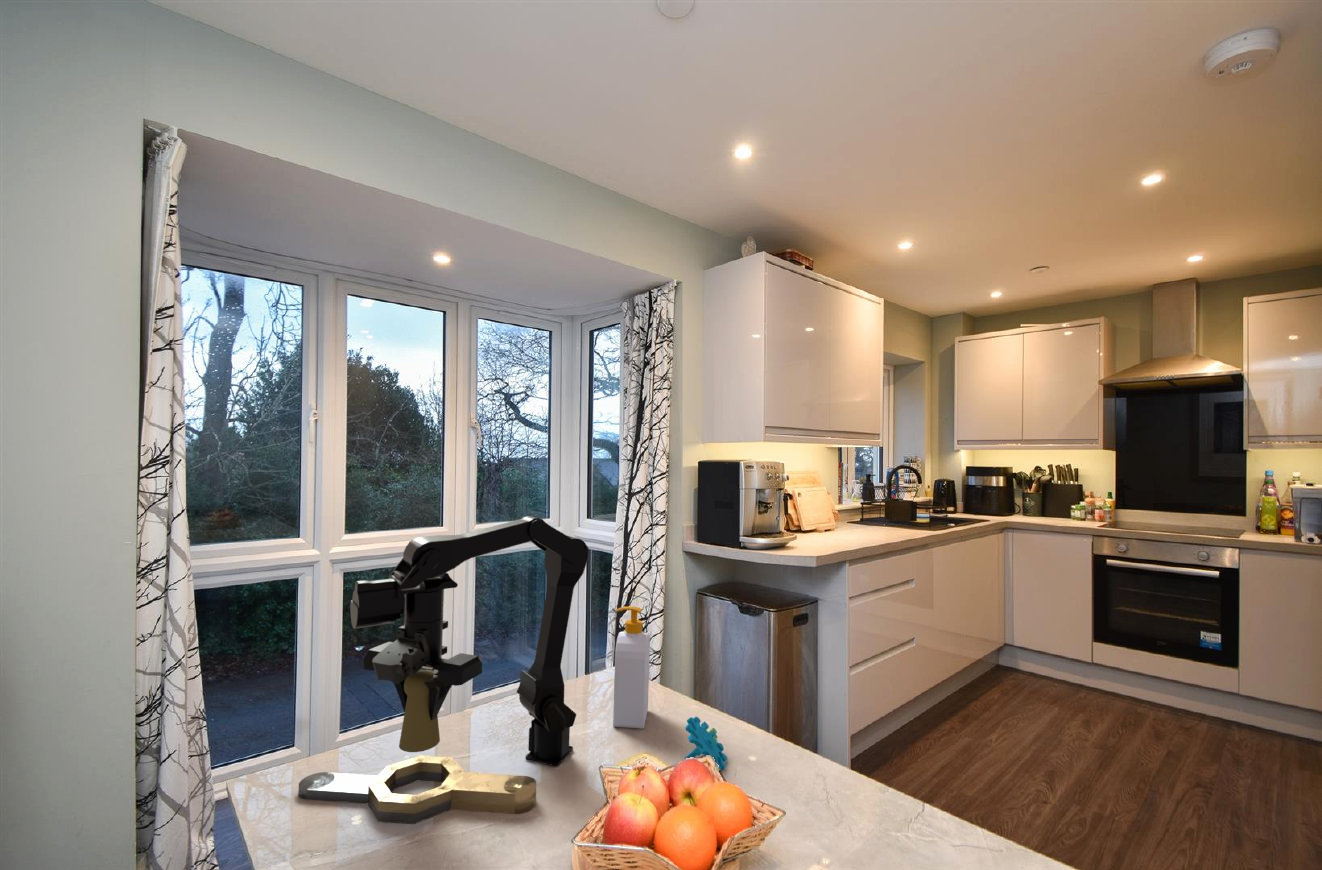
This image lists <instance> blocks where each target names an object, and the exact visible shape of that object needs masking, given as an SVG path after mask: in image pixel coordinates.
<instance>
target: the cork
mask: <svg viewBox="0 0 1322 870" xmlns="http://www.w3.org/2000/svg"><path fill="white" fill-rule="evenodd" d="M433 674H434V671H433V670H427V669H420V670H419V671H418V672H417V673H416V674H409V675H408V676H407V678H406V679H405V682H404V691H405V693H406V694H407V702H406V708H405V712H404V713H403V714H404V715H403V719H402V720H403V721H402V725H401V726H402V728H401V732H400V738H399V744H398V747H399V749H400V750H401V751H404V752H406V753H422V752H425V751H428V750H430V749H433V748H435V747H436V746H437V745H439V743H440V742H441V737H440V727H439V717H438V715H437V717H436V718H435V719H434V720H431V719H430V715H429V688H428V687H427V686H426V685H425V684H424V682H426V681H428V680H430V679H431V678H433Z"/></svg>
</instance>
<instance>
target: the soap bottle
mask: <svg viewBox="0 0 1322 870" xmlns="http://www.w3.org/2000/svg"><path fill="white" fill-rule="evenodd" d="M620 611H630V619H627V620H626V621H625V622H624V624H625V627H624V631H620V632H618V635H617V638H616V645H615V653H614V677H613V678H614V679H613V680H614V681H613V683H614V685H613V709H612V710H613V711H612V712H613V713H612V718H613V719H612V726H613V727H616V728H631V729H644V728H645V723H646V719H647V715H648V711H649V690H650V689H649V687H650V686H649V685H650V684H649V683H650V653H651V650H650V649H651V639H650V638H651V637H650V633H649V632H643V621H642V620H639V619H638V614H641V613H642V608H640V607H637V606H631V605H630V606H622V607H619V608H617V609H615V612H616V613H618V612H620Z"/></svg>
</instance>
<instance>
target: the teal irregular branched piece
mask: <svg viewBox="0 0 1322 870" xmlns="http://www.w3.org/2000/svg"><path fill="white" fill-rule="evenodd" d="M701 721H702V720H701V719H700V718H699V717H698V716H694V717H689V718H688V719H686V722H687V724H686V725H685V727H684V728H685V729H684V730H686V731H687V732H688V733H689V735H688V736H687V738H688V739H687V740H688V742H689V743H690V744H694V745H695V748H694V749H693V750H691V751H690V752H689V753H688V754H687V755H686V756H684V760H685V759H686V758H690V757H694V758H696V757H700V756H701V755H703V756H705V757H706V755H711V756H712V757H714V759H715V762H716V763H717V764H718V765H719V769H720V770H719V771H723V770H724V769H726V768H727V765H726V762H727V760H728V756H727V755H726V754H725V753H723V751H724V750H725V748H724V746H723V745H724V744H722V742H718V735H717V733H718V731H717V730H716V728H715V727H712V728H711V729H710V730H709V731H708V730H707V729H709V728H710V726H709V724H708V723H707V722H706V721H703V722H701Z"/></svg>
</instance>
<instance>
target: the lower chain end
mask: <svg viewBox="0 0 1322 870" xmlns="http://www.w3.org/2000/svg"><path fill="white" fill-rule="evenodd" d="M377 776H378V774H377V775H375V774H373V775H372V774H362V773H361V774H358V773H344V772H343V773H342V772H332V771H331V772H329V771H323V772H316V773H312V774H310V775H307V776H306V777H304V778H302V779H301V780H300V781H299V783H298V793H297V794H298V798H300V799H302V800H309V801H324V802H337V803H339V802H340V803H351V804H353V803H354V804H367V806H368V807H369V809H370V810H371V812H372V814H373V816H374V817H375V819H376V821H378V823H379V822H380V823H393V824H404V825H405V824H406V825H407V824H408V825H415V824H418V823H420V822H423V821H426V820H428V819H431V818H433V817H436V816H439V815H442V814H445V813H447V812H448V811H451V810H452V809H451V800H450V801H447V802H444V803H442V804H439V805H436V806H434V807H431V808H428V809H426V810H423V811H420V812H418V813H415V814H410V813H396V812H381V811H378V809H377V808H376V806H375V805H374V803H373V801H372V800H371V798H370V797H369V795H368V786H369V784H370V783H371V782H372V781H373V780H374V779H375V778H376V777H377ZM445 780H446V778H445V776H444V775H443V774H442V773H438V772H423V771H419V772H416V773H413V774H410V775H407V776H403V777H400V778H397V779H395V780H394V782H393V783H392V784H391V785H390V786H389V787H388V789H389V790H390V792H391V793H392V794H393V792H394V791H395V790H396V789H397V788H400V787H401V788H402V787H403V786H407V785H409V784H412V783H415V781H416V782H419V781H422V782H424V781H425V782H439V783H441V785H442V784H443V782H444V781H445Z"/></svg>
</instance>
